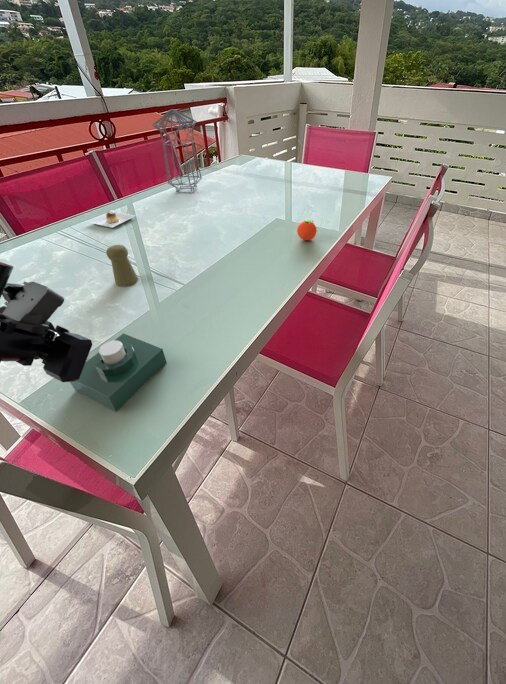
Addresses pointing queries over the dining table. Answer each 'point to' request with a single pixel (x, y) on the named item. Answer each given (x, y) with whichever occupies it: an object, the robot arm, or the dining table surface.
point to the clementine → (306, 230)
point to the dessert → (112, 219)
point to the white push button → (112, 352)
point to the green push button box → (120, 373)
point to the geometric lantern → (178, 115)
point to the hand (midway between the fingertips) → (86, 344)
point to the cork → (121, 266)
